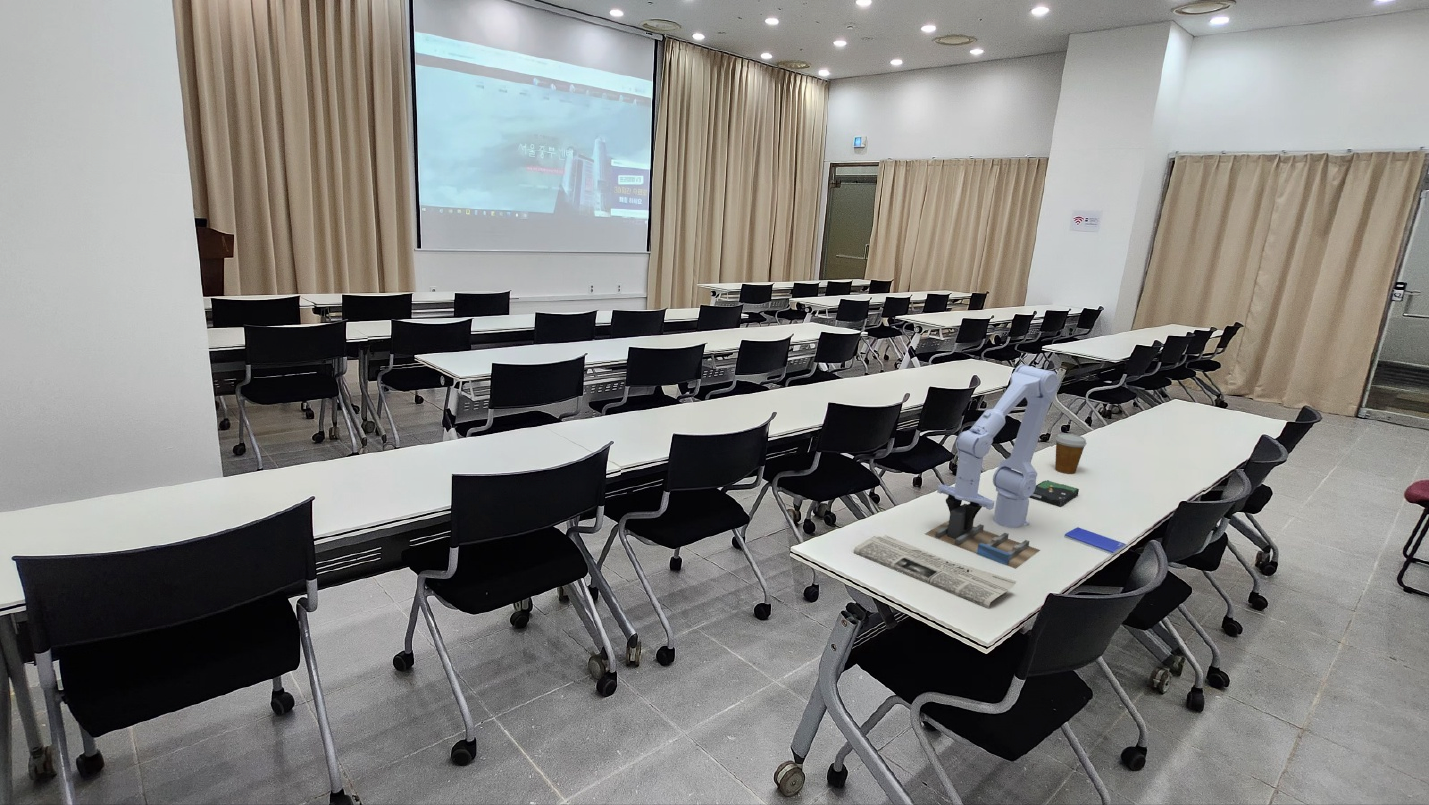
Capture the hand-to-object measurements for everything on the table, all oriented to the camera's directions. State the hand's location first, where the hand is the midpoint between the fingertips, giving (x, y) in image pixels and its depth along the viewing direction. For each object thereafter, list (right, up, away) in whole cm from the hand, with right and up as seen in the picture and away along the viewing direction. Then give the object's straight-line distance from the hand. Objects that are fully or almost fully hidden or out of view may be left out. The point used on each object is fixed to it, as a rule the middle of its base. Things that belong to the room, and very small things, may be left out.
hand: (960, 526), depth 183 cm
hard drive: (+36, -5, +2) cm, 36 cm away
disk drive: (+40, +3, +33) cm, 51 cm away
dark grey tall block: (0, -2, +1) cm, 2 cm away
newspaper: (-13, -8, -18) cm, 24 cm away
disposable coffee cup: (+55, +9, +56) cm, 79 cm away
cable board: (+4, -4, -3) cm, 7 cm away
